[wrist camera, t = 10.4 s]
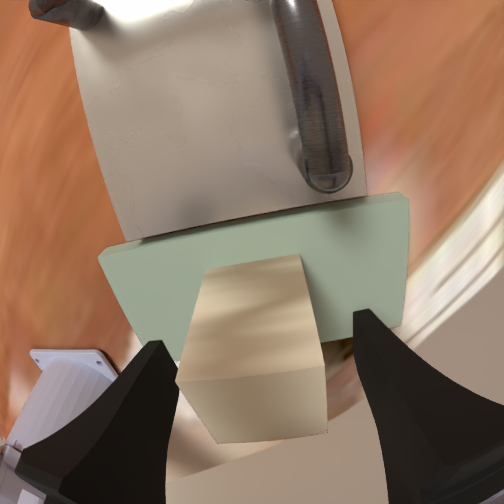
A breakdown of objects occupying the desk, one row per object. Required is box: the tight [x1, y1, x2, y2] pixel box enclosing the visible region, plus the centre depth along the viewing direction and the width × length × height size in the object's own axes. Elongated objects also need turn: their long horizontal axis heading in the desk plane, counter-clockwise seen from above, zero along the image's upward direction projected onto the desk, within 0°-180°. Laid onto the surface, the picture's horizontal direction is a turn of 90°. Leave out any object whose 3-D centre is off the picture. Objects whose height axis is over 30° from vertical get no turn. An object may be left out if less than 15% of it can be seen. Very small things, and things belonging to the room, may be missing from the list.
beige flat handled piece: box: [29, 0, 367, 242], centre depth 8 cm, size 12×10×5 cm
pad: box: [97, 192, 409, 361], centre depth 14 cm, size 7×14×1 cm, turn 102°
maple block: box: [175, 253, 328, 444], centre depth 11 cm, size 4×4×6 cm
